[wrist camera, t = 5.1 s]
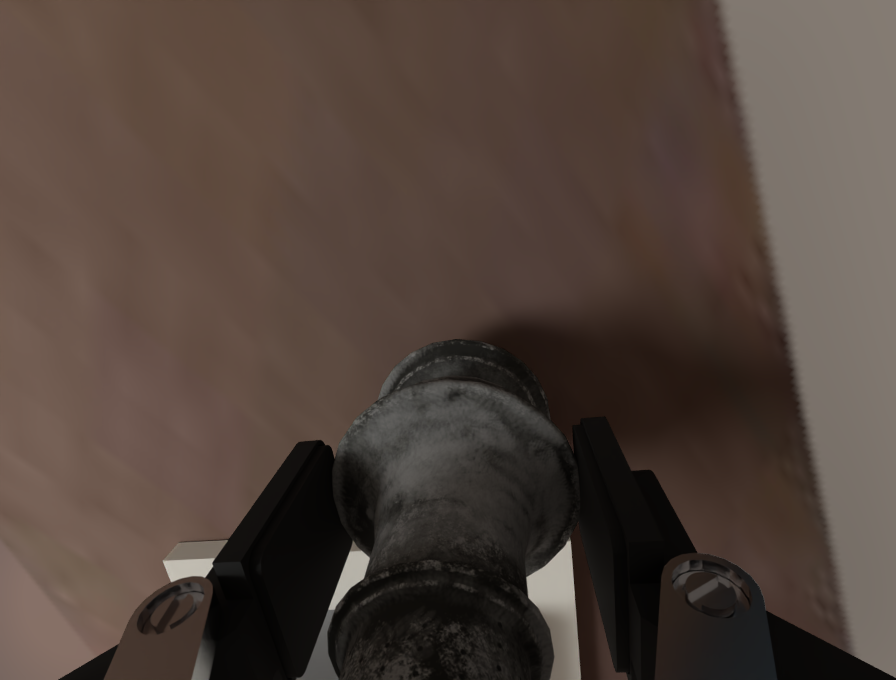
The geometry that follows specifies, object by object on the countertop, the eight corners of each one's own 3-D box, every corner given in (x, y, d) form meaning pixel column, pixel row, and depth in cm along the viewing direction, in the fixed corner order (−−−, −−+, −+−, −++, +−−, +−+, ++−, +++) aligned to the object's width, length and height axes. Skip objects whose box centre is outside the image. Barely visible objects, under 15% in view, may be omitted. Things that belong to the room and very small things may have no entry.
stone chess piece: (598, 383, 14) (1157, 1442, 2) (502, 527, 15) (543, 1477, 4) (413, 294, 13) (-47, 1060, 2) (339, 453, 15) (-105, 1296, 4)
